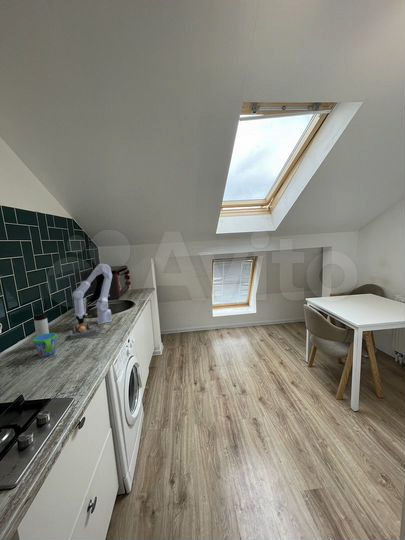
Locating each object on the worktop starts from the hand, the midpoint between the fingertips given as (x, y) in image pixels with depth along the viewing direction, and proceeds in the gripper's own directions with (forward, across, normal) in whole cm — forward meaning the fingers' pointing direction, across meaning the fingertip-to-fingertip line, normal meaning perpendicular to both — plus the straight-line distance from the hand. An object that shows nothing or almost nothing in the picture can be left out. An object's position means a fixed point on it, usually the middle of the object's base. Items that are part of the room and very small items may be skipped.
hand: (81, 325), depth 162 cm
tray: (+1, +16, 0) cm, 16 cm away
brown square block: (+1, +4, 0) cm, 4 cm away
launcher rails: (+1, +3, 0) cm, 3 cm away
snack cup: (+2, +33, -19) cm, 38 cm away
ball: (-1, +10, 0) cm, 10 cm away
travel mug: (+2, +19, -21) cm, 28 cm away
